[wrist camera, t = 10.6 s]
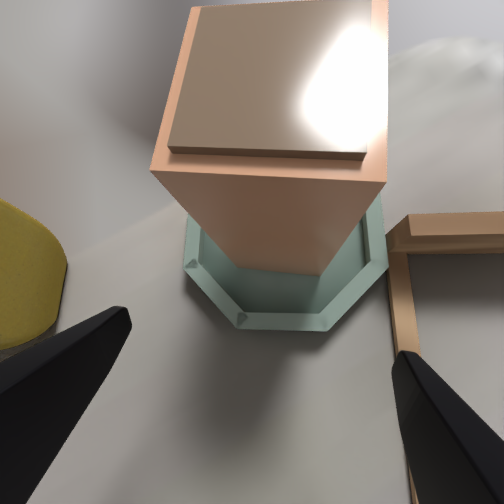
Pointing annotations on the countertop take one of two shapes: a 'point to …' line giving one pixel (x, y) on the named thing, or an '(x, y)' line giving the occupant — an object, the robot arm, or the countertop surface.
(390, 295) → the brown flat frame
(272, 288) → the saucer
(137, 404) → the countertop surface
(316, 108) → the long pot
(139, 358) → the countertop surface
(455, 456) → the robot arm
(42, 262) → the flower pot
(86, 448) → the countertop surface
